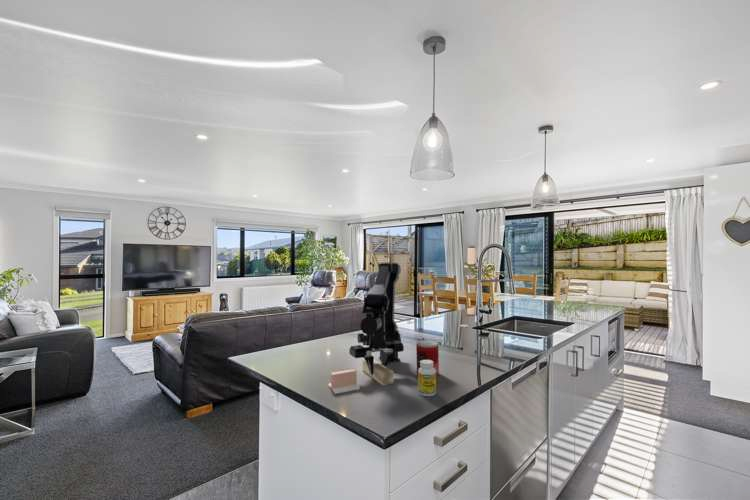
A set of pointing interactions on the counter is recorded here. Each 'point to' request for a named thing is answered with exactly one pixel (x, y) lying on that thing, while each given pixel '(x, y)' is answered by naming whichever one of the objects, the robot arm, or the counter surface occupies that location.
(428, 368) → the supplement bottle
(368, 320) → the robot arm
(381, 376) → the beam
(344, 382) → the fulcrum
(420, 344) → the canned food
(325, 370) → the counter surface
